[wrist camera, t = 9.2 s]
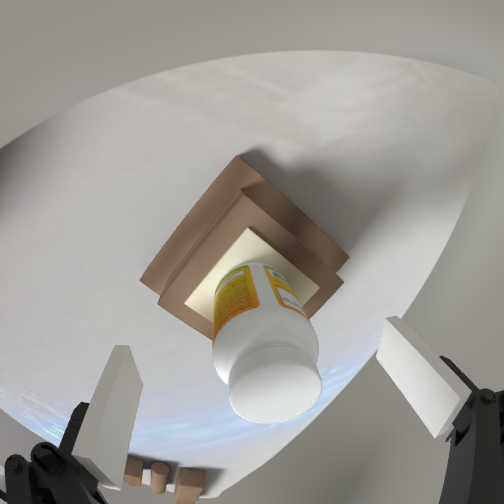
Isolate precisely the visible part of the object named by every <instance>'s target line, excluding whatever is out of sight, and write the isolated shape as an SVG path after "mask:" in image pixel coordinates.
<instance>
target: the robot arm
mask: <svg viewBox="0 0 504 504" xmlns="http://www.w3.org/2000/svg"><path fill="white" fill-rule="evenodd" d="M376 358H377V359H378V361H379V362H380V363H381V365H382V366H383V368H384V369H385V370H386V371H387V373H388V374H389V376H390V377H391V378H392V379H393V381H394V382H395V384H396V385H397V386H398V388H399V389H400V390H401V392H402V393H403V395H404V396H405V397H406V399H407V400H408V401H409V403H410V404H411V405H412V407H413V408H414V410H415V411H416V413H417V414H418V415H419V417H420V418H421V419H422V421H423V422H424V424H425V425H426V427H427V428H428V429H429V431H430V432H431V434H432V435H433V437H434V438H436V437H438V436H439V435H441V434H443V433H445V432H446V431H447V430H448V428H449V427H450V426H451V424H453V426H454V429H453V430H452V431H451V433H450V434H449V436H448V437H447V438H446V442H447V441H448V440H449V439H450V438H451V441H450V442H451V446H450V453H449V459H448V465H447V470H446V475H445V480H444V485H443V489H442V493H441V497H440V501H439V504H504V390H503V391H500V392H495V393H494V392H493V391H492V390H490V389H481V390H479V389H478V388H477V387H476V386H475V385H474V384H473V383H472V382H471V381H470V380H469V379H468V377H467V376H466V375H465V374H464V373H463V372H461V370H460V369H459V368H458V367H456V365H455V364H454V363H453V362H452V361H451V360H449V359H447V358H446V357H444V356H440V357H438V356H437V355H436V354H435V353H434V352H433V351H432V350H431V349H430V348H429V347H428V346H427V345H426V344H425V343H424V342H423V341H422V340H421V339H420V338H419V337H418V336H417V335H416V334H415V333H414V332H413V331H412V330H411V329H410V328H409V327H408V326H407V325H406V324H405V323H404V322H403V321H402V320H401V319H400V318H398V317H397V316H393V317H388V318H385V322H384V327H383V331H382V335H381V340H380V344H379V348H378V352H377V355H376ZM142 388H143V383H142V381H141V378H140V376H139V373H138V370H137V367H136V365H135V362H134V359H133V356H132V353H131V350H130V347H129V345H115V347H114V349H113V351H112V353H111V355H110V357H109V360H108V362H107V364H106V366H105V369H104V371H103V373H102V375H101V378H100V380H99V382H98V385H97V387H96V390H95V392H94V394H93V397H92V399H91V402H90V403H85V402H81V403H80V404H79V405H78V406H77V407H76V408H75V409H74V411H73V413H72V415H71V418H70V419H71V420H69V423H68V425H67V426H68V427H67V428H66V430H65V433H64V435H63V438H62V440H61V443H60V446H59V448H58V449H57V447H56V446H55V445H53V444H52V443H49V442H41V443H39V444H37V445H36V446H35V447H34V448H33V449H32V452H31V455H30V456H31V461H32V462H28V461H27V460H26V459H25V458H24V457H22V456H21V455H17V454H14V455H11V456H10V457H9V458H7V460H6V462H5V485H6V496H7V504H108V503H107V501H106V500H105V498H104V497H103V495H102V494H101V492H100V491H99V490H98V488H97V486H98V482H99V483H100V484H102V485H103V486H104V487H106V488H111V489H116V490H121V488H122V482H123V476H124V471H125V465H126V460H127V454H128V449H129V444H130V440H131V435H132V430H133V426H134V421H135V417H136V412H137V408H138V404H139V400H140V396H141V392H142ZM451 436H452V437H451Z"/></svg>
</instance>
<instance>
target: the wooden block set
mask: <svg viewBox="0 0 504 504" xmlns="http://www.w3.org/2000/svg"><path fill="white" fill-rule="evenodd" d="M142 474H143V460H141V459H137V458H133V457H130V456H127V460H126V465H125V471H124V476H123V480H124V481H125V482H127V483H128V484H129V485H131V486H141V481H142ZM168 474H169V467H168V466H167V465H166V464H165V463H163V462H155V463H153V464H152V466H151V483H150V488H151V490H152V491H153V492H154V493H157V494H162V493H164V492H165V490H166V485H167V480H168ZM203 489H204V471H203V470H196V469H189V468H183V467H180V468H179V471H178V475H177V479H176V485H175V490H174V504H194V503H195V501H197V500H198V498H199V496H200V494H201V492H202V491H203Z"/></svg>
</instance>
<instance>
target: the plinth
mask: <svg viewBox="0 0 504 504" xmlns="http://www.w3.org/2000/svg"><path fill="white" fill-rule="evenodd" d="M349 258H350V257H349V256H348V255H347V254H346V253H345V252H344V251H343V250H342V249H341V248H340V247H339V246H338V245H337V244H336V243H335V242H334V241H333V240H331V239H330V238H329V237H328V236H327V235H326V234H325V233H324V232H323V231H322V230H321V229H320V228H319V227H318V226H317V225H316V224H315V223H314V222H312V221H311V220H310V219H309V218H308V217H307V216H306V215H305V214H304V213H303V212H302V211H301V210H299V209H298V208H297V207H296V206H295V205H294V204H293V203H292V202H291V201H290V200H288V199H287V198H286V197H285V196H284V195H283V194H282V193H281V192H279V191H278V190H277V189H276V188H275V187H274V186H273V185H271V184H270V183H269V182H268V181H267V180H266V179H264V178H263V177H262V176H261V175H260V174H259V173H257V172H256V171H255V170H254V169H253V168H252V167H250V166H249V165H248V164H247V163H246V162H244V161H243V160H242V159H241V158H240V157H238V156H237V155H236V156H235V157H234V159H233V160H232V161H231V162H230V163H229V164H228V165H227V167H226V168H225V169H224V170H223V171H222V173H221V174H220V175H219V176H218V177H217V178H216V180H215V181H214V182H213V183H212V184H211V186H210V187H209V188H208V189H207V191H206V192H205V193H204V194H203V195H202V197H201V198H200V199H199V200H198V202H197V203H196V204H195V205H194V207H193V208H192V209H191V211H190V212H189V213H188V214H187V216H186V217H185V218H184V219H183V221H182V222H181V223H180V225H179V226H178V227H177V229H176V230H175V231H174V233H173V234H172V235H171V237H170V238H169V239H168V241H167V242H166V243H165V245H164V246H163V247H162V249H161V250H160V251H159V253H158V254H157V256H156V257H155V258H154V260H153V261H152V262H151V264H150V265H149V267H148V268H147V270H146V271H145V272H144V274H143V275H142V277H141V278H140V280H139V281H141V282H142V283H143V284H145V285H146V286H147V287H149V288H150V289H151V290H153V291H154V292H156V293H157V294H158V295H160V298H159V301H158V303H157V304H158V305H159V306H161V307H162V308H164V309H165V310H167V311H168V312H169V313H171V314H172V315H174V316H175V317H177V318H178V319H180V320H181V321H183V322H184V323H186V324H187V325H189V326H190V327H192V328H194V329H195V330H197V331H198V332H200V333H201V334H203V335H205V336H206V337H208V338H209V339H211V340H213V311H214V308H213V307H214V294H215V290H216V287H217V285H218V283H219V281H220V279H221V278H222V277H223V276H224V275H225V274H226V273H227V272H228V271H230V270H231V269H233V268H234V267H237V266H239V265H242V264H246V263H263V264H267V265H269V266H272V267H273V268H275V269H277V270H278V271H279V272H280V273H281V274H282V275H283V276H284V277H285V279H286V280H287V282H288V283H289V285H290V287H291V289H292V290H293V292H294V294H295V296H296V298H297V299H298V301H299V303H300V305H301V307H302V308H303V310H304V312H305V314H306V315H307V317H308V319H310V318H311V317H312V316H313V315H314V314H315V313H316V312H317V311H318V310H319V309H320V308H321V307H322V306H323V305H324V304H325V303H326V302H327V300H328V299H329V298H330V297H331V296H332V295H333V294H334V293H335V292H336V291H337V290H338V289H339V288H340V286H341V285H342V284H343V283H344V281H343V280H342V279H341V278H340V277H339V276H338V275H337V274H336V272H337V271H338V270H339V269H340V268H341V267H342V266H343V265H344V263H345V262H346V261H347V260H348V259H349Z"/></svg>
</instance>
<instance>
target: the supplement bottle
mask: <svg viewBox="0 0 504 504" xmlns="http://www.w3.org/2000/svg"><path fill="white" fill-rule="evenodd" d="M213 308H214V311H213V361H214V365H215V368H216V371H217V373H218V374H219V376H220V377H221V379H222V380H223V381H224V382H225V383H226V384H227V385H228V389H229V398H230V403H231V406H232V408H233V410H234V411H235V412H236V413H237V414H238V415H239V416H241V417H242V418H244V419H246V420H249V421H252V422H257V423H278V422H284V421H287V420H290V419H293V418H295V417H297V416H299V415H301V414H303V413H304V412H306V411H307V410H309V409H310V408H311V407H312V406H313V405H314V404H315V403H316V401H317V400H318V398H319V396H320V394H321V391H322V379H321V377H320V374H319V372H318V369H317V367H316V362H317V359H318V354H319V343H318V339H317V335H316V333H315V331H314V328H313V326H312V324H311V323H310V321H309V319H308V317H307V315H306V314H305V312H304V310H303V308H302V307H301V305H300V303H299V301H298V299H297V298H296V296H295V294H294V292H293V290H292V289H291V287H290V285H289V283H288V282H287V280H286V279H285V277H284V276H283V275H282V274H281V273H280V272H279V271H278V270H277V269H275V268H273V267H272V266H269V265H267V264H263V263H246V264H242V265H239V266H237V267H234V268H233V269H231V270H230V271H228V272H227V273H226V274H225V275H224V276H223V277H222V278H221V279H220V281H219V283H218V285H217V287H216V290H215V294H214V307H213Z"/></svg>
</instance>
